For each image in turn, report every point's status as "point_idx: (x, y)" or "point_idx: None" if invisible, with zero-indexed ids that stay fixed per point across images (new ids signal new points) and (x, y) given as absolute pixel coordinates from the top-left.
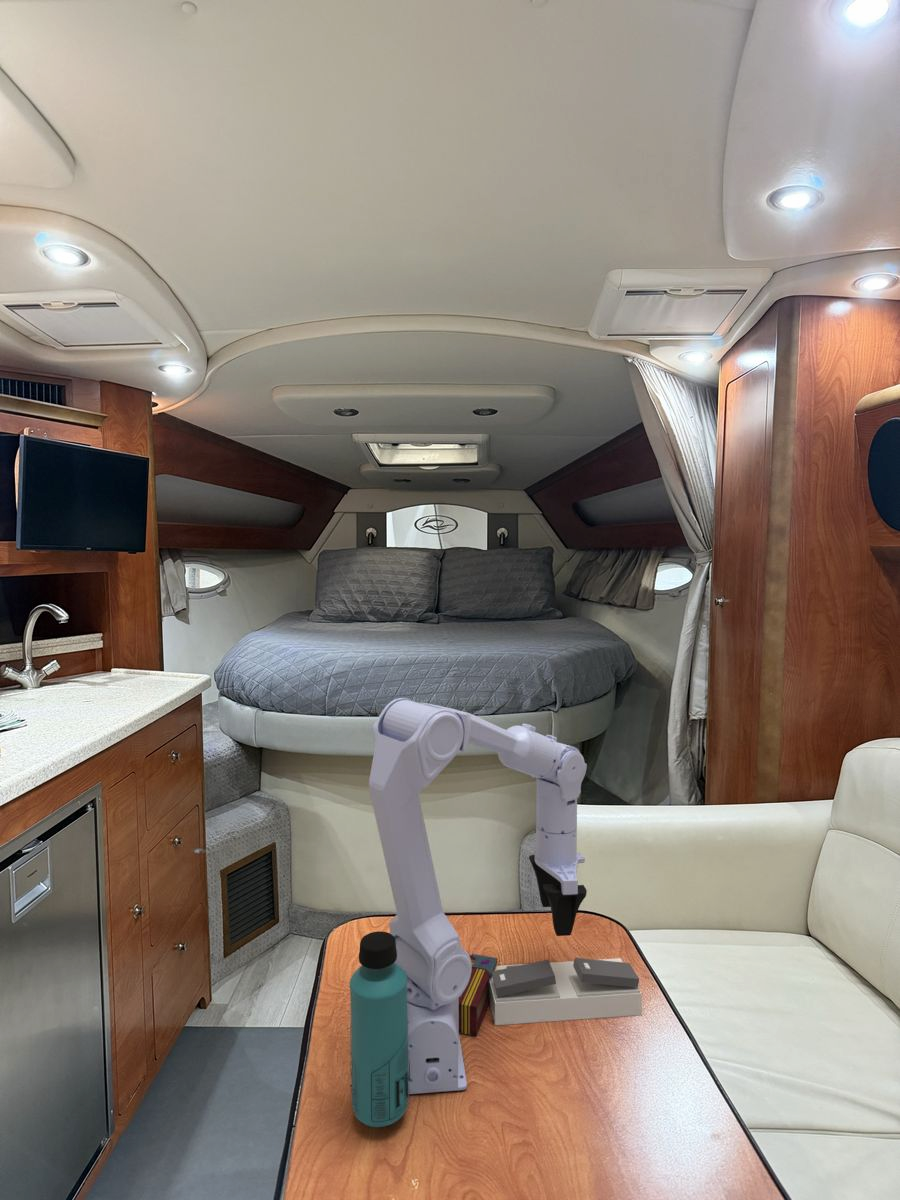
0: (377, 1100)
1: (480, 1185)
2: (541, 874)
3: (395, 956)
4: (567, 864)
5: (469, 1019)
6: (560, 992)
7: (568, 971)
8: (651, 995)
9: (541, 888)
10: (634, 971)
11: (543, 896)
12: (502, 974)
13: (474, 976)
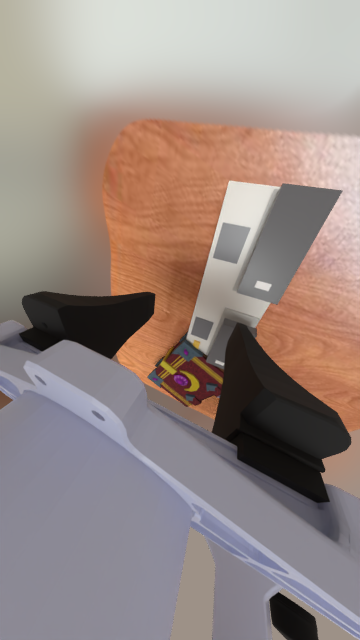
0: None
1: (357, 426)
2: (113, 347)
3: (312, 625)
4: (190, 513)
5: None
6: (250, 312)
7: (221, 283)
8: (293, 150)
9: (133, 330)
10: (314, 187)
11: (143, 321)
12: (216, 361)
13: (200, 366)
